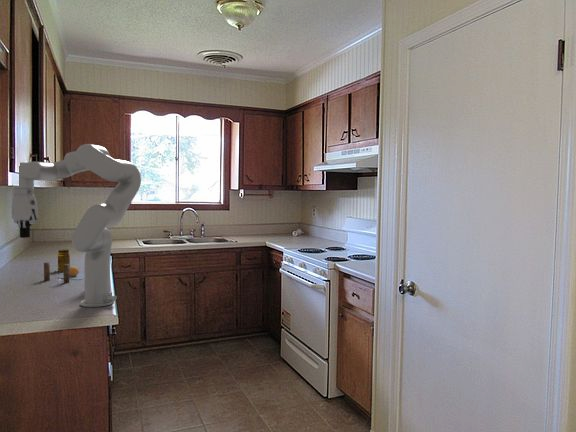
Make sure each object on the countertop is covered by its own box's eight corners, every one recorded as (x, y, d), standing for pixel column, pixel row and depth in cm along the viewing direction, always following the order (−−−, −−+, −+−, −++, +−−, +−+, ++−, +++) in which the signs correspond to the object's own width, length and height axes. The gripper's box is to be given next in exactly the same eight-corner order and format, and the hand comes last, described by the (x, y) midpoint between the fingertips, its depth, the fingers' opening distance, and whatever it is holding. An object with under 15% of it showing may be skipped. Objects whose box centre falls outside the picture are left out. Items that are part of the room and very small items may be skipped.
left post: (51, 280, 224) (50, 262, 223) (46, 281, 221) (46, 263, 221) (47, 279, 225) (46, 262, 224) (42, 280, 222) (42, 262, 222)
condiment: (54, 271, 249) (54, 250, 248) (67, 269, 257) (67, 248, 256) (63, 272, 246) (63, 251, 245) (76, 270, 254) (76, 249, 253)
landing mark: (98, 275, 239) (98, 275, 239) (78, 280, 225) (78, 279, 225) (78, 273, 243) (78, 273, 243) (57, 277, 230) (57, 277, 230)
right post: (70, 282, 220) (70, 264, 219) (66, 283, 217) (66, 265, 217) (66, 281, 221) (66, 263, 220) (62, 282, 218) (62, 264, 218)
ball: (77, 265, 233) (72, 274, 229) (82, 270, 237) (77, 279, 234) (68, 263, 234) (63, 273, 230) (73, 268, 238) (68, 278, 235)
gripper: (45, 192, 182) (46, 237, 183) (18, 192, 187) (20, 236, 188) (28, 192, 175) (30, 239, 176) (1, 192, 180) (3, 237, 181)
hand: (25, 237), depth 182 cm, fingers closed
